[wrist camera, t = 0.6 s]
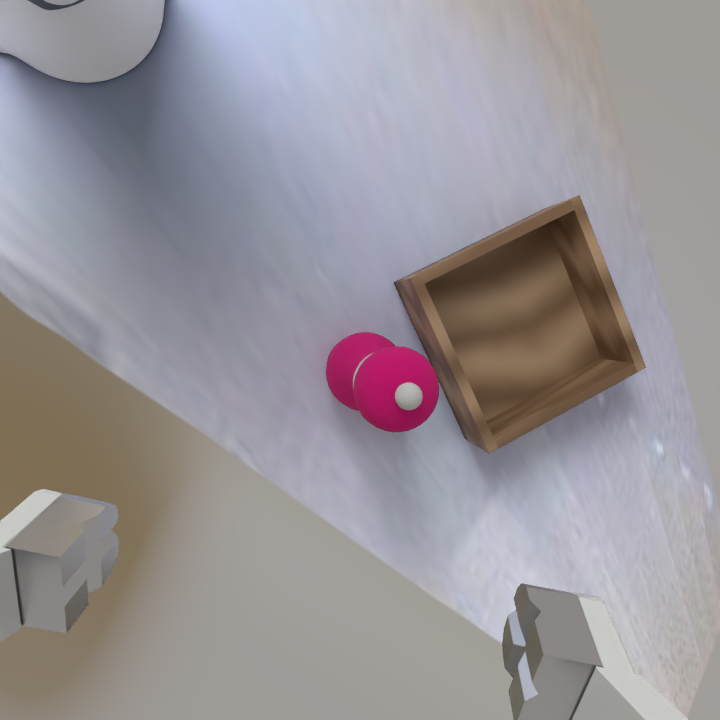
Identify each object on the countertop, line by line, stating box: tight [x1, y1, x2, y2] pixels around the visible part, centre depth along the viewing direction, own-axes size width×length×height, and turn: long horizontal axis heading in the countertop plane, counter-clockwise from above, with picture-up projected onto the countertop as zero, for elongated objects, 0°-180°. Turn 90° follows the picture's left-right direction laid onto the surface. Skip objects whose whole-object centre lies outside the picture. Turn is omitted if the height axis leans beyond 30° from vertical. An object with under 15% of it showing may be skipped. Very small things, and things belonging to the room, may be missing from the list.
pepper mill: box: [326, 332, 439, 432], centre depth 42 cm, size 7×7×20 cm
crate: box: [394, 195, 646, 453], centre depth 51 cm, size 18×18×6 cm
